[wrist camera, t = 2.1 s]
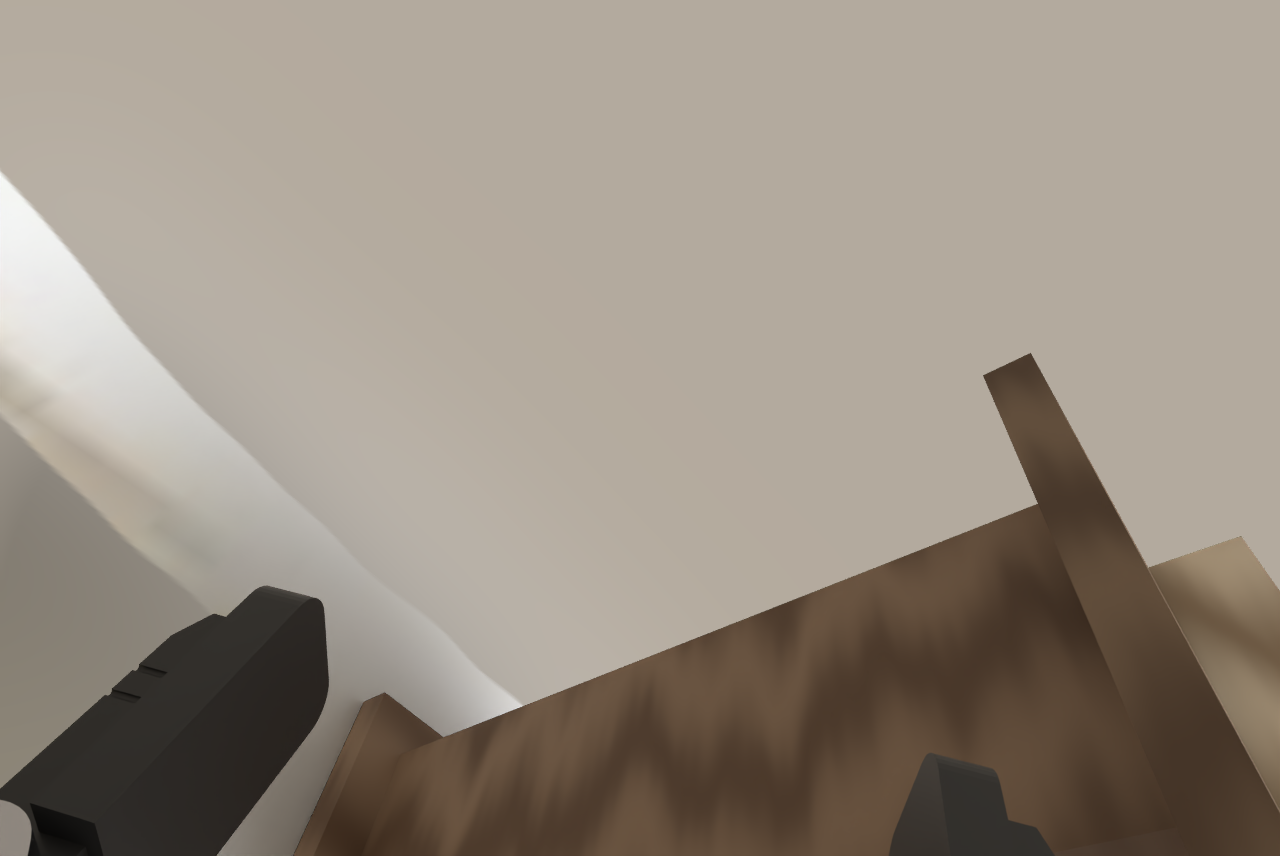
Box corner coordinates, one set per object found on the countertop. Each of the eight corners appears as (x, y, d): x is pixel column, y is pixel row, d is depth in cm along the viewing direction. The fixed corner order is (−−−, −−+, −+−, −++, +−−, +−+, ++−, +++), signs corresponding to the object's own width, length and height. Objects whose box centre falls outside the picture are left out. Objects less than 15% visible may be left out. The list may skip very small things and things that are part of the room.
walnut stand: (356, 672, 39) (1030, 352, 25) (569, 835, 45) (1195, 653, 32) (155, 1089, 26) (1326, 898, 12) (494, 1233, 32) (1500, 1215, 19)
